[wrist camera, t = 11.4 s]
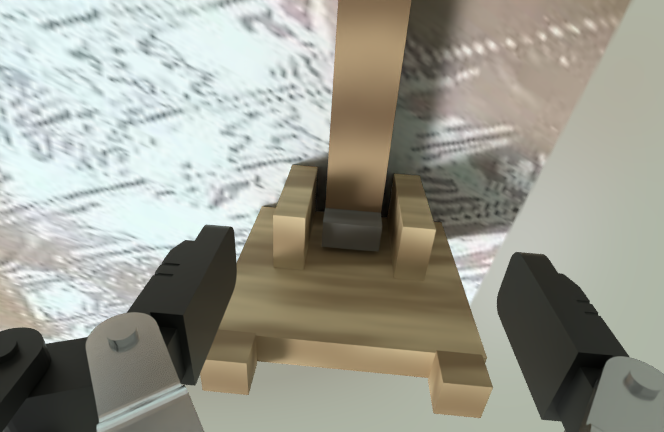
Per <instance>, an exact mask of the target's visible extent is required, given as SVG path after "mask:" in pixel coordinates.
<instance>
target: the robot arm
mask: <svg viewBox="0 0 664 432" xmlns="http://www.w3.org/2000/svg"><path fill="white" fill-rule="evenodd" d="M236 278H237V264H236V251H235V237H234V230H233V228H232V227H228V226H217V225H205V226H204V227H203V229H202V230H201V232H200V233H199V235H198V236H197V238H196V240H195V241H189V240H185V241H183V242H182V243H180V244H179V245H177V246H176V247H174V248H173V249H172V250H170V252H169V253H168V255H167V256H166V257H165V259H164V260H163V262H162V265H160V266H159V267H158V269H157V270H156V272H155V275H153V276H152V277H151V279H150V280H149V282H148V283H147V285H146V286H145V287H144V289H143V290H142V292H141V293H140V295H139V296H138V297H137V299H136V300H135V302H134V303H133V305H132V306H131V307H130V309H129V310H128V312H127V313H124V314H120V315H116V316H114V317H111V318H109V319H107V320H105V321H104V322H102V323H101V324H99V325H98V326H97V327H96V328H95V329H94V330H93V331H92V332H91V333H90V335H89V336H88V337H85V338H80V339H74V340H68V341H61V342H55V343H49V344H45V341H44V339H43V337H42V335H41V334H40V333H39V332H38V331H37V330H35V329H31V328H12V329H8V330H4V331H1V332H0V432H204V430H203V427H202V425H201V422H200V420H199V417H198V415H197V412H196V410H195V408H194V405H193V403H192V400H191V398H190V396H189V393H188V391H187V389H186V387H185V385H183V386H182V385H181V384H186V385H196V383H197V380H198V378H199V375H200V373H201V370H202V368H203V365H204V363H205V360H206V358H207V355H208V353H209V351H210V348H211V346H212V343H213V341H214V338H215V336H216V333H217V331H218V328H219V326H220V323H221V321H222V318H223V316H224V314H225V311H226V309H227V306H228V304H229V301H230V299H231V296H232V294H233V291H234V288H235V284H236ZM589 302H590V301H589V300H588V298H587V297H586V295H585V294H584V292H583V291H582V290H581V288H580V287H579V286H578V285H577V284H575V283H574V282H573V281H572V280H570V279H569V278H568V277H566V276H565V275H564V274H560V273H558V272H557V271H556V269H555V268H554V266H553V265H552V263H551V262H550V260H549V259H548V258H547V256H545V255H544V254H533V253H521V252H516V253H514V254H513V255H512V257H511V259H510V262H509V265H508V268H507V271H506V273H505V276H504V279H503V281H502V284H501V287H500V290H499V293H498V296H497V311H498V315H499V317H500V320H501V322H502V325H503V327H504V329H505V332H506V334H507V337H508V339H509V342H510V344H511V347H512V349H513V351H514V354H515V356H516V359H517V361H518V363H519V366H520V368H521V370H522V373H523V375H524V378H525V380H526V383H527V385H528V387H529V390H530V392H531V395H532V397H533V400H534V402H535V404H536V407H537V410H538V412H539V414H540V417H541V419H542V420H552V421H561V422H562V424H563V426H564V428H565V431H564V432H664V374H663V373H662V372H660V371H659V370H657V369H656V368H654V367H653V366H650V365H649V364H647V363H645V362H642V361H640V360H637V359H634V358H630V357H629V355H628V354H627V353H626V351H625V350H624V348H623V347H622V346H621V344H620V343H619V342H618V340H617V339H616V337H615V336H614V334H613V333H612V332H611V330H610V329H609V327H608V326H607V325H606V323H605V322H604V320H603V319H602V318H601V316H598V312H597V311H596V309H595V308H594V306H593V305H592V304H590V303H589Z"/></svg>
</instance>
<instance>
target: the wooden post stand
mask: <svg viewBox="0 0 664 432" xmlns="http://www.w3.org/2000/svg"><path fill="white" fill-rule="evenodd" d="M317 172H318V167H313V166H302V165H292V167H291V170H290V172H289V175H288V178H287V180H286V183H285V185H284V188H283V191H282V193H281V196H280V198H279V201H278V204H277V206H276V208H275V207H263V206H262V207H261V210H260V212H259V214H258V216H257V219H256V221H255V223H254V225H253V227H252V230H251V232H250V234H249V236H248V239H247V241H246V243H245V245H244V247H243V250H242V252H241V254H240V256H239V259H238V261H237V263H236V264H237V278H236V284H235V288H234V291H233V294H232V296H231V299H230V301H229V304H228V306H227V309H226V311H225V314H224V316H223V318H222V321H221V323H220V326H219V328H218V331H217V333H216V336H215V338H214V341H213V343H212V346H211V348H210V351H209V353H208V355H207V358H206V360H205V363H204V365H203V368H202V370H201V373H200V375H201V382H202V389H203V390H204V391H214V392H224V393H235V394H244V395H249V391H250V387H251V383H252V380H253V376H254V373H255V369H256V366H257V361H261V362H272V363H281V364H291V365H302V366H312V367H322V368H332V369H343V370H353V371H364V372H374V373H384V374H394V375H405V376H414V377H425V378H429V379H428V383H429V389H430V395H431V401H432V406H433V412H434V413H435V414H444V415H455V416H464V417H474V418H481V416H482V413H483V411H484V408H485V406H486V403H487V401H488V399H489V396H490V394H491V391H492V389H493V386H492V383H491V380H490V377H489V374H488V371H487V368H486V365H485V362H486V359H487V356H486V354H485V351H484V348H483V345H482V342H481V339H480V336H479V333H478V330H477V327H476V324H475V321H474V318H473V315H472V312H471V309H470V306H469V303H468V300H467V297H466V294H465V291H464V288H463V285H462V282H461V279H460V276H459V273H458V270H457V267H456V264H455V261H454V258H453V255H452V252H451V249H450V246H449V244H448V241H447V238H446V235H445V232H444V229H443V226H442V223H441V222H434V221H433V218H432V215H431V211H430V208H429V205H428V201H427V198H426V195H425V192H424V188H423V185H422V182H421V178H420V176H417V175H406V174H394V177H393V184H392V190H391V196H390V203H389V209H388V216H387V217H381V219H382V232H381V239H380V246H379V252H376V251H365V250H354V249H342V248H331V247H321V246H322V230H323V219H324V213H325V212H319V211H315V210H316V191H317Z"/></svg>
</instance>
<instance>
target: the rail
mask: <svg viewBox="0 0 664 432" xmlns="http://www.w3.org/2000/svg"><path fill="white" fill-rule="evenodd" d="M410 7H411V0H338V15H337V30H336V46H335V62H334V78H333V94H332V109H331V125H330V141H329V157H328V173H327V189H326V204H325V213H324V219H323V230H322V246H321V247H331V248H342V249H354V250H365V251H376V252H379V246H380V239H381V232H382V219H381V209H382V202H383V195H384V188H385V181H386V174H387V167H388V160H389V153H390V146H391V139H392V132H393V125H394V118H395V111H396V104H397V97H398V90H399V84H400V77H401V70H402V63H403V56H404V49H405V42H406V35H407V28H408V21H409V14H410Z"/></svg>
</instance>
